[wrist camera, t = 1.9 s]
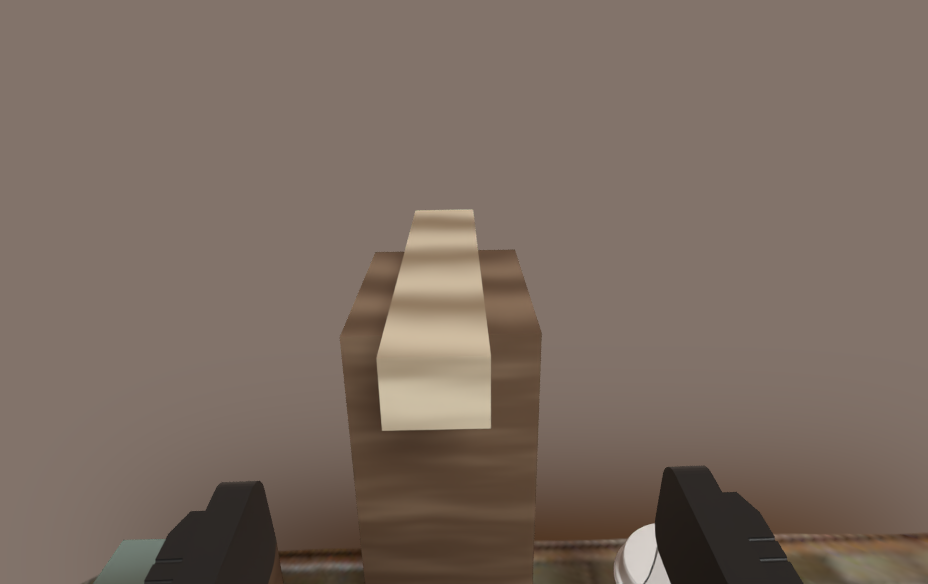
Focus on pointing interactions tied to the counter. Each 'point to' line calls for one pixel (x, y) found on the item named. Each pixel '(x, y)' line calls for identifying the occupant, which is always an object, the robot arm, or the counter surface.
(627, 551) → the coffee cup
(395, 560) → the wooden block stacks
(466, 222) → the slat
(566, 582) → the counter surface
